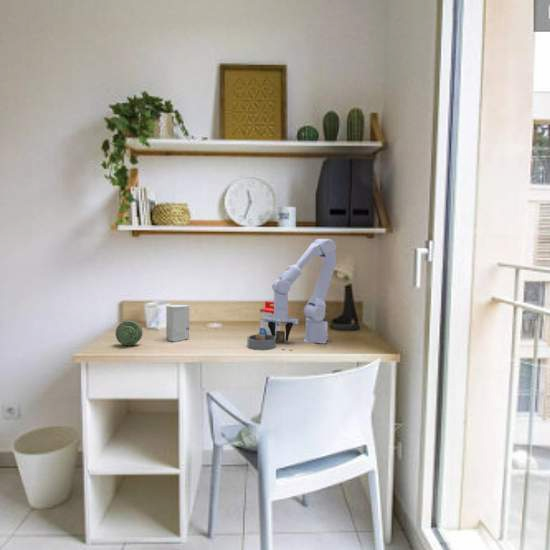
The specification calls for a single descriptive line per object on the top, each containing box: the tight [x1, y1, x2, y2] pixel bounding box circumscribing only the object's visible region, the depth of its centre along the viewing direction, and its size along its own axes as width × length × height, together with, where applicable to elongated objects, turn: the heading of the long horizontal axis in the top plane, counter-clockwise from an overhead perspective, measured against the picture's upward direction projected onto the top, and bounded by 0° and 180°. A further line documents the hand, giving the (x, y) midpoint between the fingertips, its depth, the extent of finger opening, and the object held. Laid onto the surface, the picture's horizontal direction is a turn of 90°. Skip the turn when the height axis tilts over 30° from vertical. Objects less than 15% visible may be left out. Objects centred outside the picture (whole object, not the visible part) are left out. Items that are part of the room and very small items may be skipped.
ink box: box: [259, 301, 281, 337], centre depth 189 cm, size 8×5×15 cm, turn 62°
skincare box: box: [165, 304, 190, 343], centre depth 177 cm, size 8×6×15 cm
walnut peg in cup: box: [255, 333, 265, 341], centre depth 164 cm, size 4×4×5 cm
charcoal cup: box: [246, 333, 277, 351], centre depth 167 cm, size 11×11×4 cm
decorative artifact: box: [115, 319, 143, 346], centre depth 165 cm, size 10×7×10 cm
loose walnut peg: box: [275, 330, 286, 344], centre depth 173 cm, size 4×4×5 cm
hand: (280, 340), depth 173 cm, fingers open, 5 cm apart
